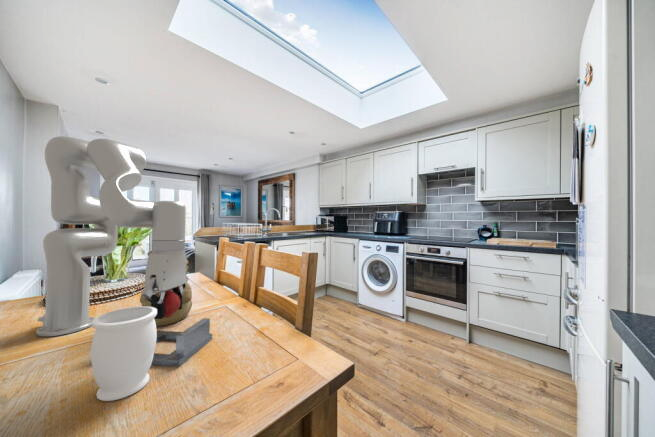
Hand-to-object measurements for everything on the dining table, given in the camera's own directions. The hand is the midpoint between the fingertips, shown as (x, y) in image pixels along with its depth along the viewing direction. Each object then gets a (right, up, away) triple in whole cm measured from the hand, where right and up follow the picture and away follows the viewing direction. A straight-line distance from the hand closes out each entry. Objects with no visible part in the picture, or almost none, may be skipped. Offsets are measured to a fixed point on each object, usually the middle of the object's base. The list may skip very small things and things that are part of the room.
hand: (167, 312), depth 65 cm
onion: (0, -2, 0) cm, 2 cm away
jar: (+1, -10, -15) cm, 18 cm away
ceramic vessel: (-14, -10, +19) cm, 26 cm away
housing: (-2, -10, 0) cm, 10 cm away
